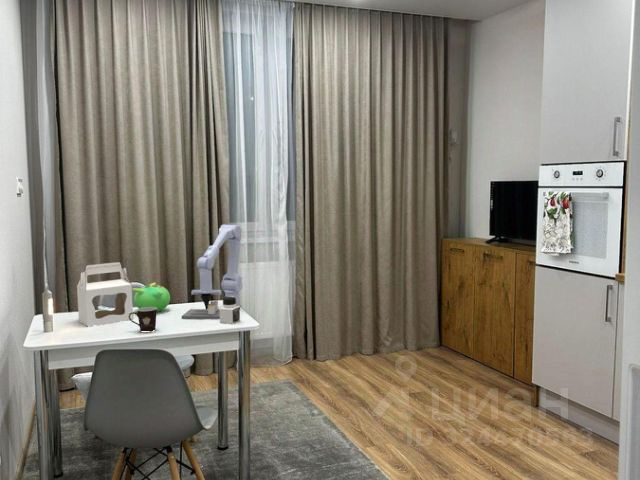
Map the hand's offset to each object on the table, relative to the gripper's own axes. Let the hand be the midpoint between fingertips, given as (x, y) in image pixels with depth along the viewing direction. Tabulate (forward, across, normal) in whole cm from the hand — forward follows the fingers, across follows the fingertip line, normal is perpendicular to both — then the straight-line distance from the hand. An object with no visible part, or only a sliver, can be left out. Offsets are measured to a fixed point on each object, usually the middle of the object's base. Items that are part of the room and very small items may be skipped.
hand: (207, 308), depth 286 cm
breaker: (+2, +2, +7) cm, 8 cm away
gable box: (+4, -48, -8) cm, 49 cm away
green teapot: (+4, -32, +11) cm, 34 cm away
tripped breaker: (+2, +2, 0) cm, 3 cm away
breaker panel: (+4, -2, +3) cm, 6 cm away
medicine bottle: (+4, +13, -9) cm, 17 cm away
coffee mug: (+4, -22, -26) cm, 34 cm away
